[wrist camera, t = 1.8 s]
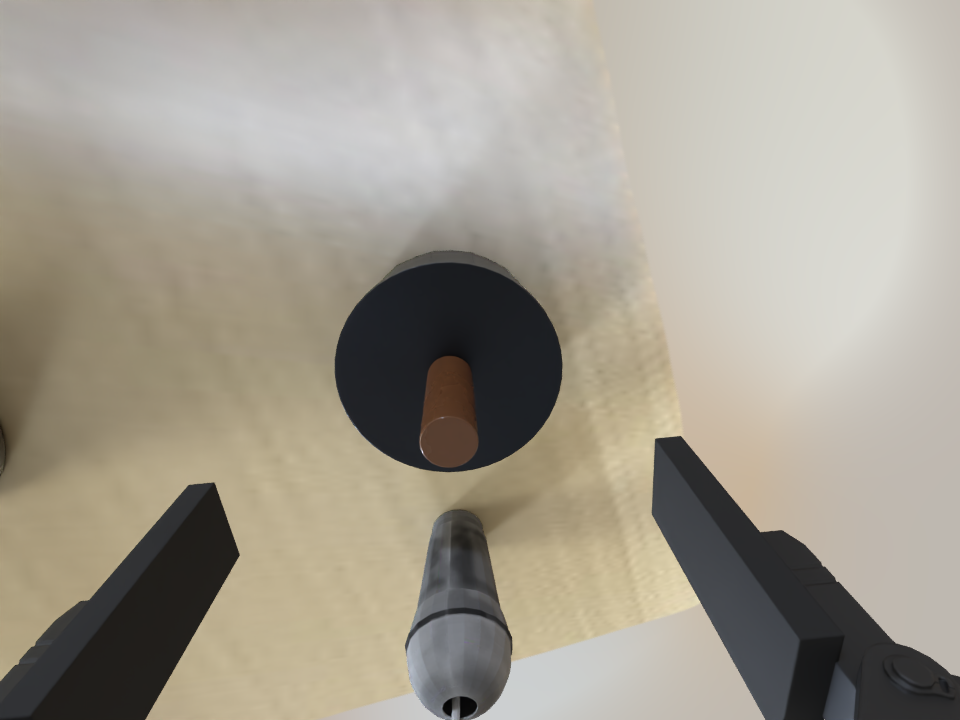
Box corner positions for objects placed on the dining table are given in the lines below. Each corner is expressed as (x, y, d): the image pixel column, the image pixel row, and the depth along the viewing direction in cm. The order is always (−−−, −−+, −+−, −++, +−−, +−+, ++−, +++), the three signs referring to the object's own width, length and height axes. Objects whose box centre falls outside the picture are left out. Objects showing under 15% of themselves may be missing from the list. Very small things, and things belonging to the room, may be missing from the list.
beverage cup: (511, 511, 43) (556, 772, 25) (478, 571, 45) (495, 850, 27) (435, 486, 42) (421, 741, 23) (404, 548, 44) (369, 826, 25)
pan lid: (345, 462, 34) (308, 561, 25) (330, 255, 29) (279, 291, 20) (548, 464, 35) (579, 559, 26) (570, 262, 29) (617, 301, 21)
